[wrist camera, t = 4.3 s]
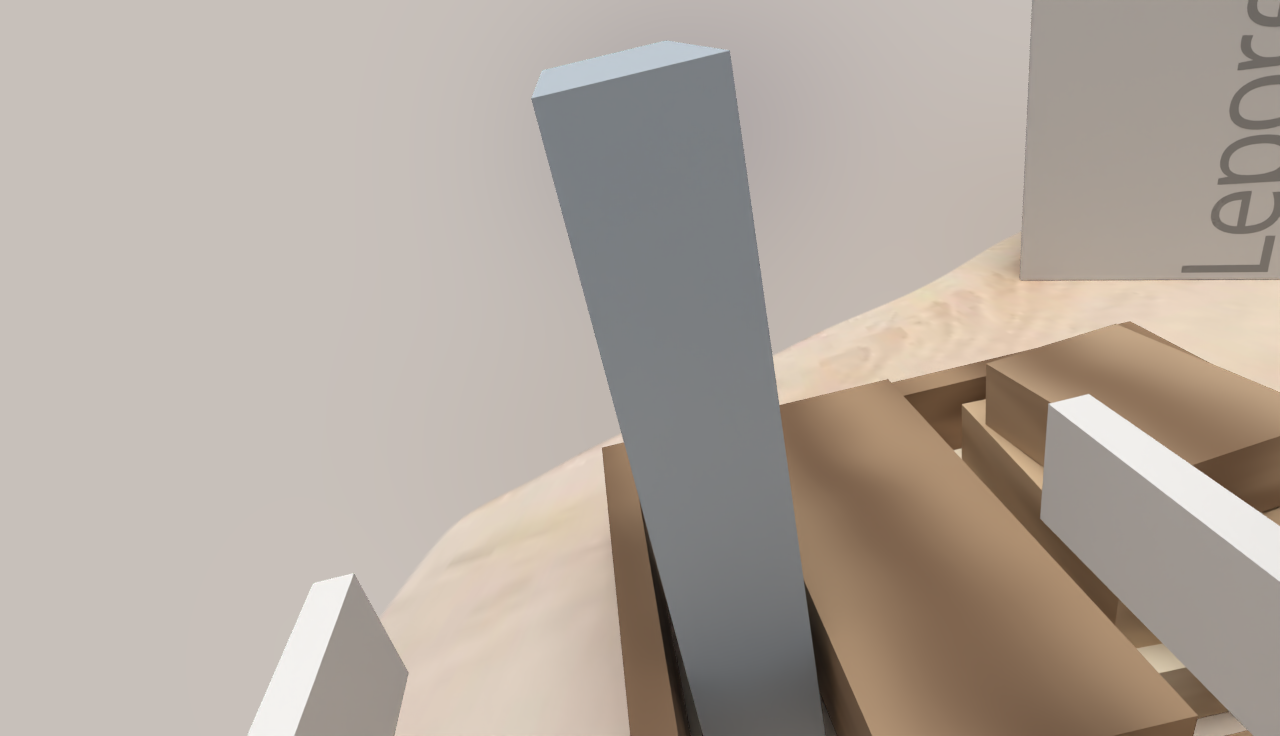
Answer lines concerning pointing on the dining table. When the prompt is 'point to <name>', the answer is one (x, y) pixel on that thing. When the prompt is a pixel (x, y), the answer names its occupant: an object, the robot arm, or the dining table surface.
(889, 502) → the tray
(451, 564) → the dining table surface
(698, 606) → the grey rectangular block
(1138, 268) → the brochure
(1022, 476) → the plate
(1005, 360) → the offcut top
